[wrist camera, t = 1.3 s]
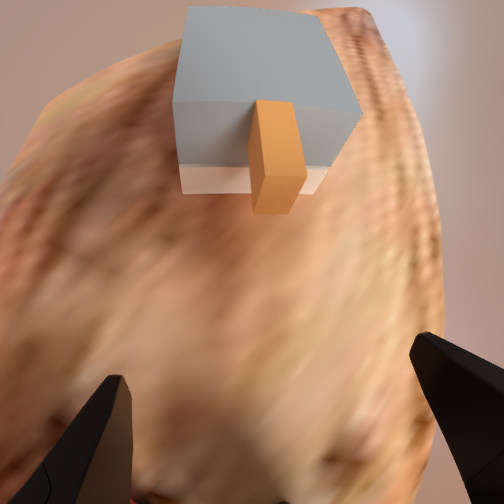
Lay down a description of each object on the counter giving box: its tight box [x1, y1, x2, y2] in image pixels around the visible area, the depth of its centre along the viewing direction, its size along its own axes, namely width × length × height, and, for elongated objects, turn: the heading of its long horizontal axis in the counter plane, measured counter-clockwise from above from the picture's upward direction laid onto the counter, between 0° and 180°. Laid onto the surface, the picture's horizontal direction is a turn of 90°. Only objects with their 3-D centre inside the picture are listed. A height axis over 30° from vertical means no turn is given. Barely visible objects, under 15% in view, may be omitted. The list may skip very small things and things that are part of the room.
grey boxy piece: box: [172, 6, 363, 214], centre depth 19 cm, size 18×11×6 cm, turn 4°
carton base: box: [179, 163, 328, 194], centre depth 25 cm, size 13×11×4 cm
